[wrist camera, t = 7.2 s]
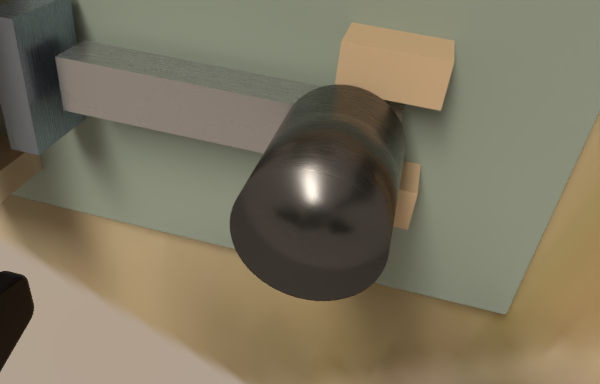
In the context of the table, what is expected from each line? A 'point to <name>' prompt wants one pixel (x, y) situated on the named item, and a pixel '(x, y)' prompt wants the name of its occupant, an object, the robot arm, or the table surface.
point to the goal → (15, 168)
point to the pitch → (385, 84)
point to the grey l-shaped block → (227, 142)
